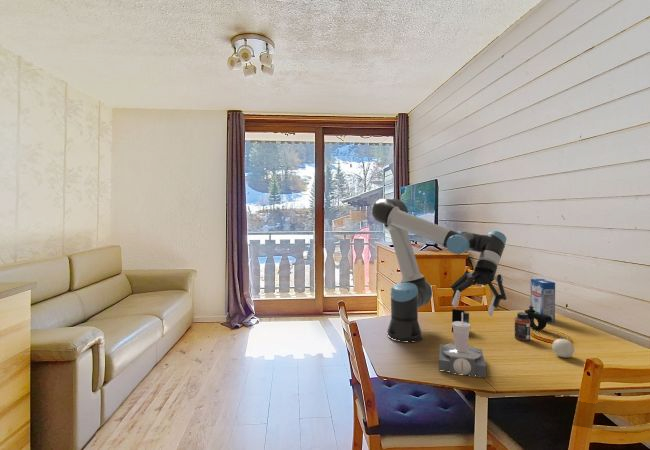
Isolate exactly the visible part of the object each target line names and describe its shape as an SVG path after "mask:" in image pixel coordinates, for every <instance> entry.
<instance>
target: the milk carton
mask: <svg viewBox="0 0 650 450" xmlns="http://www.w3.org/2000/svg"><path fill="white" fill-rule="evenodd" d="M529 306H532V307H534V308H533V310H535V311H536V312H540V313H542V314H545V315H548V316H551V318H552V321H549V322H548V323H555V321H556V282H554V281H551V280H548V279H545V278H530V305H529Z"/></svg>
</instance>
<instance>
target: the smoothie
mask: <svg viewBox="0 0 650 450" xmlns="http://www.w3.org/2000/svg"><path fill="white" fill-rule="evenodd" d="M452 327H453V339H454V343H455V348H456V350H457V351H459V352H466V351H467V345H469V344H468V343H469V336H470V329H471V328H472V327H471V323H470V322H469V323H467V322H463V312H462V321H455V322H452V321H451V328H452Z"/></svg>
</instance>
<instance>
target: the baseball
mask: <svg viewBox="0 0 650 450" xmlns="http://www.w3.org/2000/svg"><path fill="white" fill-rule="evenodd" d="M551 345H552V351H553V352H554V353H555V355H557V356H558V357H561V358H567V359H568V358H571V357H572V356H573V355H574V353H575V346H574V344H573V343H572V342H571V341H570V340H568V339H565V338H557V339H555V340H554V341H553V342H552V344H551Z"/></svg>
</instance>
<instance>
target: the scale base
mask: <svg viewBox="0 0 650 450" xmlns="http://www.w3.org/2000/svg"><path fill="white" fill-rule="evenodd" d="M444 345H445V344H443V343H442V344H441V343H440V344H439V356H438V371H439V370H444V371H450V373H456V374H463V375H470V376H475V375H476V376H481V377H480V378H483V377H486V378H487V365H486V361H485V360H486V359H485V356H484V353H483V348H479V347H476V348H477V349H479V350H480V352H481V357H480V358H479V359H477V360H475V359H471V358H463V357H455V356H450V357H448V356H447V355H445V354H444V353H443V351H442V347H443V346H444ZM450 373H449V374H450ZM476 376H475V377H476Z"/></svg>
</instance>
